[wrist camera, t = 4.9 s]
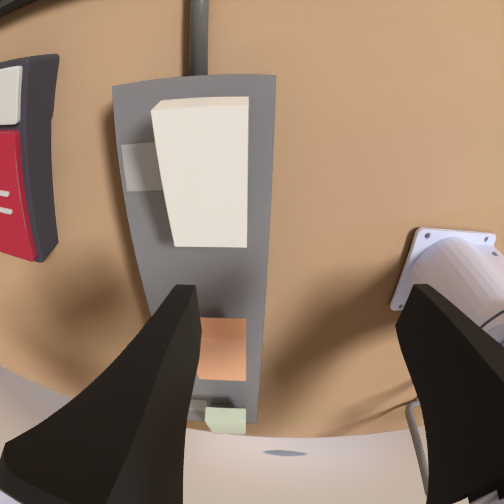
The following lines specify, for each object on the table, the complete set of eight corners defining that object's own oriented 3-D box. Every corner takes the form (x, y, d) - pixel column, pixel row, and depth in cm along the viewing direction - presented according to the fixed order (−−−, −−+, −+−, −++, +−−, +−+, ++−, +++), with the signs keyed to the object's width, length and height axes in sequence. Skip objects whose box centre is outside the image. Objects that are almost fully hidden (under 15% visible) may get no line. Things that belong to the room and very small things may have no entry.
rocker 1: (248, 96, 10) (248, 106, 10) (247, 228, 15) (246, 247, 14) (160, 100, 10) (150, 110, 9) (179, 228, 15) (174, 246, 14)
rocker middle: (246, 318, 17) (245, 339, 16) (246, 364, 22) (245, 380, 21) (185, 316, 17) (182, 336, 16) (200, 362, 22) (199, 378, 21)
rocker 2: (245, 408, 24) (245, 423, 23) (245, 423, 29) (245, 434, 28) (205, 406, 24) (204, 421, 23) (213, 421, 28) (212, 433, 28)
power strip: (274, -64, 9) (279, -95, 5) (256, 401, 32) (256, 430, 29) (140, -52, 9) (114, -75, 5) (190, 398, 32) (186, 427, 29)
